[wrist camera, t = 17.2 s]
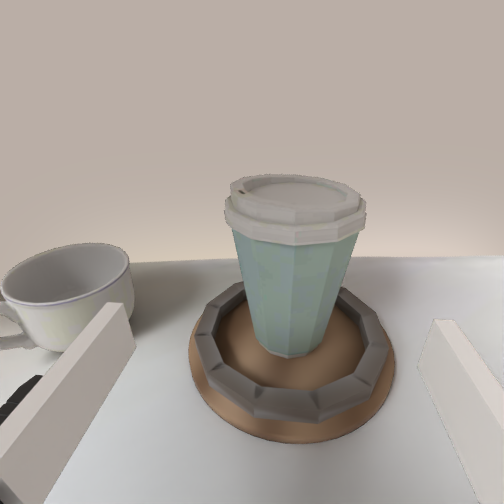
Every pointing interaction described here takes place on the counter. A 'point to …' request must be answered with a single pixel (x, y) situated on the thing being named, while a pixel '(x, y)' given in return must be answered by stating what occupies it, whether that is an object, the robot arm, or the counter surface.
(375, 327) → the ring board
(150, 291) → the counter surface
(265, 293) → the disposable coffee cup
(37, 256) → the teacup
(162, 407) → the counter surface
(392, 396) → the counter surface
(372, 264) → the counter surface
